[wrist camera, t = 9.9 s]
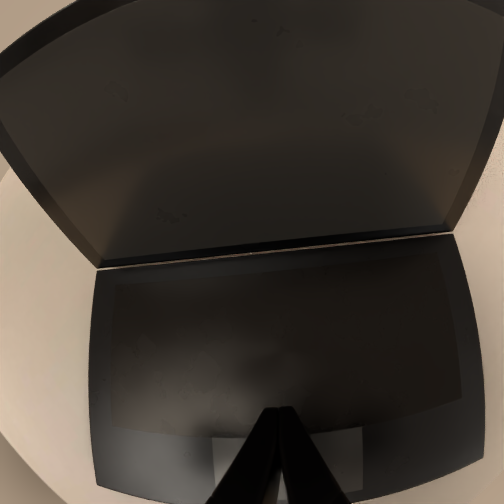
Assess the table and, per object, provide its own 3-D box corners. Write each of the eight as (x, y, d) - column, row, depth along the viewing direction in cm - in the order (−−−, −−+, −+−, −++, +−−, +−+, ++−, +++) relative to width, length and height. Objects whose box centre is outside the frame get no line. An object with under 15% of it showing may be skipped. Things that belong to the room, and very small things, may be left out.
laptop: (472, 454, 10) (484, 458, 9) (108, 480, 13) (95, 485, 11) (444, 243, 17) (454, 232, 15) (107, 277, 19) (95, 269, 18)
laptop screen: (527, 9, 3) (517, 4, 4) (-38, 89, 6) (-29, 82, 6) (453, 232, 15) (449, 224, 16) (96, 270, 18) (98, 261, 18)
